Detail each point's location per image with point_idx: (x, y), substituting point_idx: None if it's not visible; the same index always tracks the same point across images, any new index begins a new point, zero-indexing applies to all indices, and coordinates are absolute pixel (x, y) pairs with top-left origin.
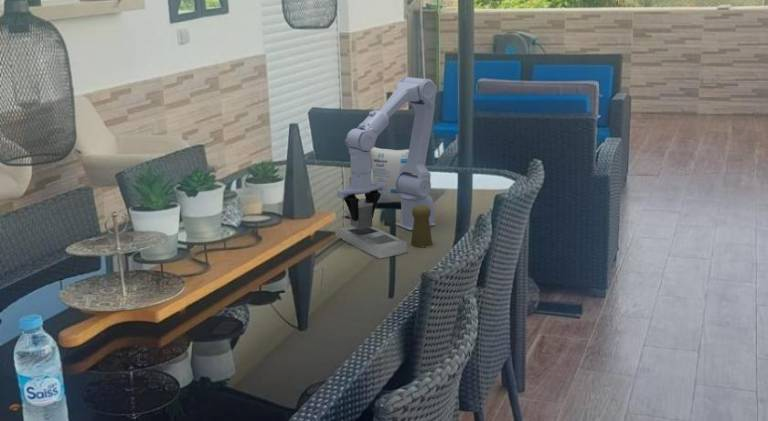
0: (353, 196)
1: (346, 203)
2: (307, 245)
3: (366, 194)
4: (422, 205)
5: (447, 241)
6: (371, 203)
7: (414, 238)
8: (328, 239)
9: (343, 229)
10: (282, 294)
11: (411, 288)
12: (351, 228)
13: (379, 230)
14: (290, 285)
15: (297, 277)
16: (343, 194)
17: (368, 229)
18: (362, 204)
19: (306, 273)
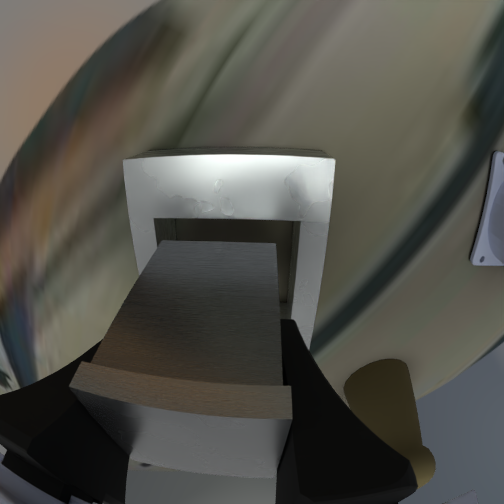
0: (78, 496)
1: (44, 384)
2: (24, 170)
3: (291, 493)
4: (418, 487)
5: (431, 386)
6: (256, 473)
7: (351, 407)
8: (104, 133)
9: (140, 191)
10: (10, 382)
11: (181, 470)
12: (192, 201)
13: (306, 324)
14: (12, 371)
15: (15, 357)
16: (1, 480)
17: (297, 235)
18: (168, 467)
19: (25, 356)
